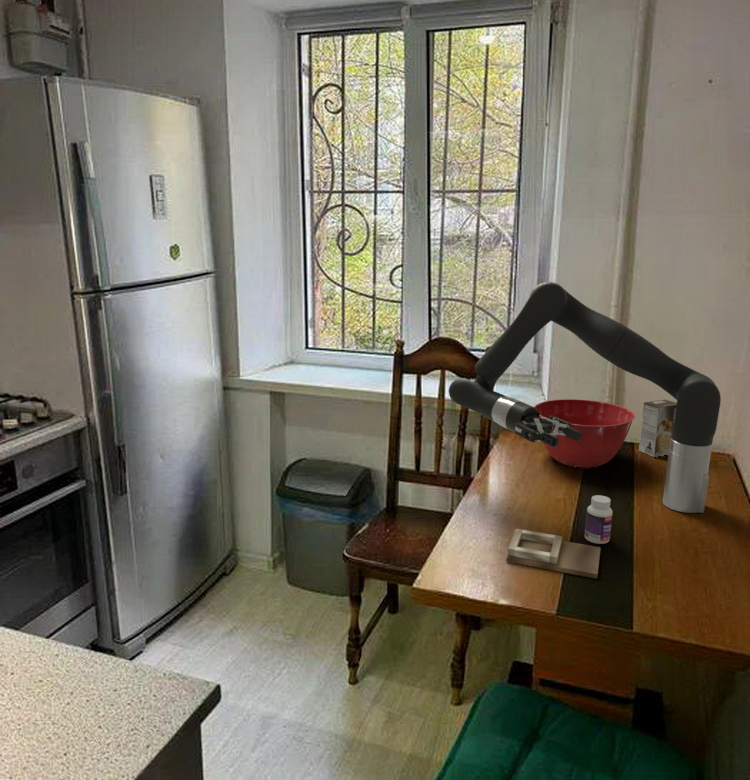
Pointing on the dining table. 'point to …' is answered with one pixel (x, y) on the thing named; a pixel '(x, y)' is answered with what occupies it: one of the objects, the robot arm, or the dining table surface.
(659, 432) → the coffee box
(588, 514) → the pill bottle
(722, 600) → the dining table surface
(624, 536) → the dining table surface
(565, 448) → the mixing bowl
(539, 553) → the socket board
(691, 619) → the dining table surface
